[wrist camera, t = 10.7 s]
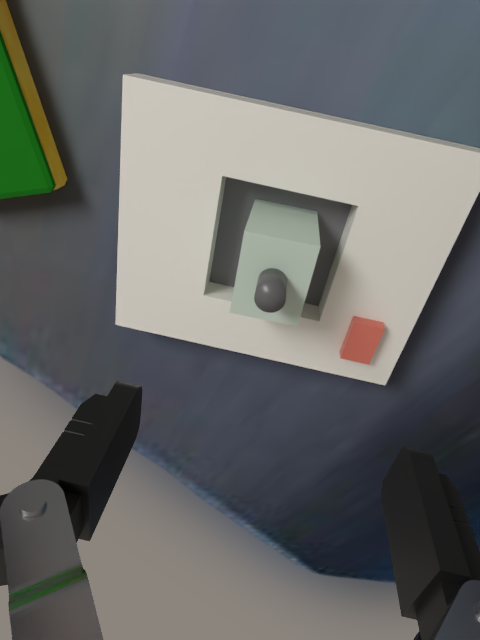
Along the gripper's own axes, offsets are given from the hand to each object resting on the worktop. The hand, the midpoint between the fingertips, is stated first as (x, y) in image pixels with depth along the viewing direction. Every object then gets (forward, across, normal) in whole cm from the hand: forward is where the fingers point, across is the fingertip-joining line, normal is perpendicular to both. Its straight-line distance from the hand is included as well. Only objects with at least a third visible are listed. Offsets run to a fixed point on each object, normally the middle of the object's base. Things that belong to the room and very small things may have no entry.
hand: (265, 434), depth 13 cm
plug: (+18, 0, +1) cm, 18 cm away
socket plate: (+18, +1, +1) cm, 18 cm away
